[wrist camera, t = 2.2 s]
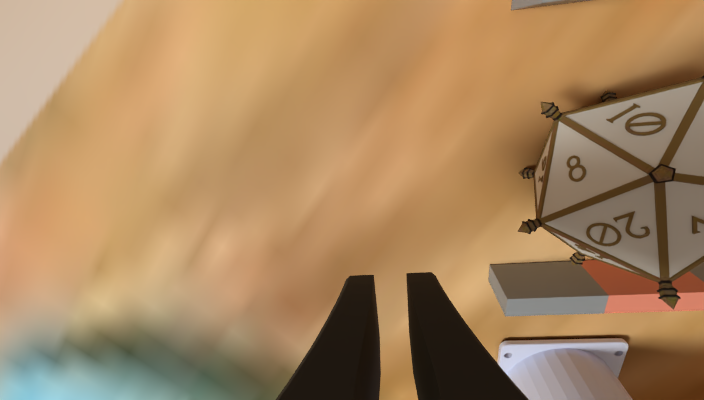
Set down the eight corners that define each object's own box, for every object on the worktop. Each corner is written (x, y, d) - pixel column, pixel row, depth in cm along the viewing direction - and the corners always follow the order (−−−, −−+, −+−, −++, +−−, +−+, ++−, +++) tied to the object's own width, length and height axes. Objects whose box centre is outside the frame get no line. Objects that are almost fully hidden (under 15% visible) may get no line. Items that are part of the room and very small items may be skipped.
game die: (548, 163, 21) (577, 330, 17) (469, 91, 17) (479, 292, 12) (762, 89, 15) (907, 331, 10) (726, -62, 10) (955, 248, 6)
